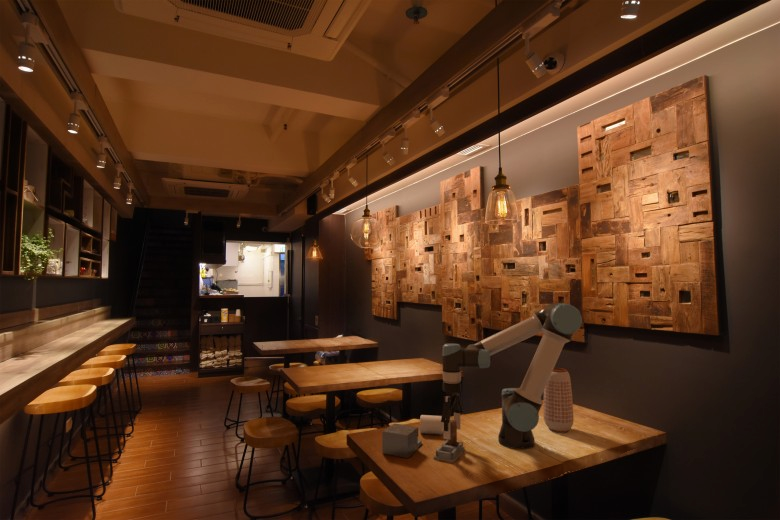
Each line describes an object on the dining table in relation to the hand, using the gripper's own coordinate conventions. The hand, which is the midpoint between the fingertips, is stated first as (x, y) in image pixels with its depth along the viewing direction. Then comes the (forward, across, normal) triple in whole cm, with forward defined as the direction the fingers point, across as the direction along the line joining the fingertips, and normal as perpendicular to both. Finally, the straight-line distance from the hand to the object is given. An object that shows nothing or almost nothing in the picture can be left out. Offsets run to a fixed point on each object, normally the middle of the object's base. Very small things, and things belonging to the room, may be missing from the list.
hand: (452, 433), depth 175 cm
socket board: (+7, +4, 0) cm, 8 cm away
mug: (+7, -18, -16) cm, 26 cm away
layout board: (+7, +2, -19) cm, 20 cm away
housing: (+7, +10, -19) cm, 22 cm away
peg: (+6, 0, 0) cm, 6 cm away
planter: (+7, -48, +37) cm, 61 cm away
